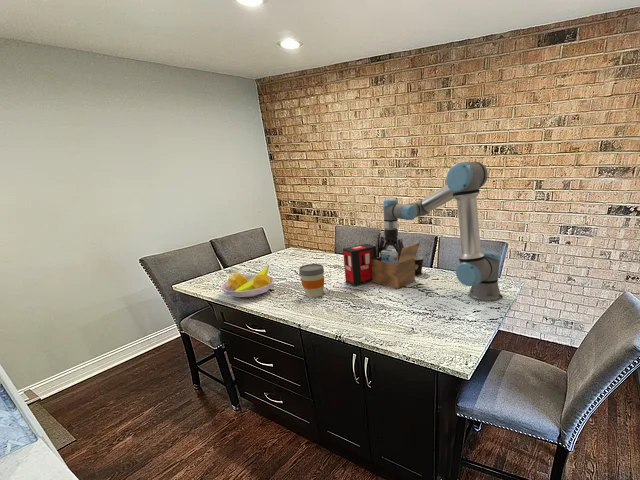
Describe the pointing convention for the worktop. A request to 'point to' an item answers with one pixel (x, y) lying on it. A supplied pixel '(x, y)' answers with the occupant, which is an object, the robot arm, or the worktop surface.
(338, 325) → the worktop surface
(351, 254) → the cleaning product box
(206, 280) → the worktop surface
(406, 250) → the flap
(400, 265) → the carton
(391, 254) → the light bulb box
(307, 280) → the reusable coffee cup
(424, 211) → the robot arm
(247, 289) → the fruit bowl
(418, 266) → the coffee mug
